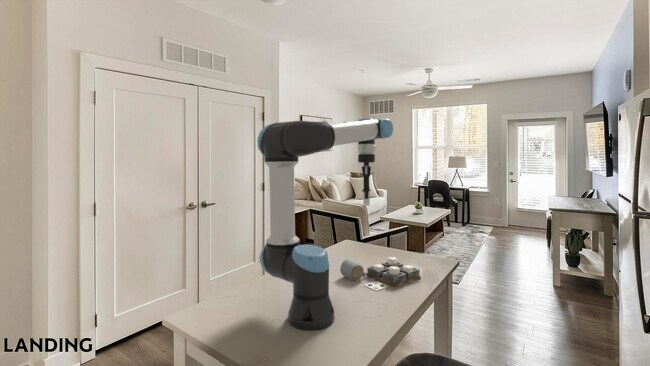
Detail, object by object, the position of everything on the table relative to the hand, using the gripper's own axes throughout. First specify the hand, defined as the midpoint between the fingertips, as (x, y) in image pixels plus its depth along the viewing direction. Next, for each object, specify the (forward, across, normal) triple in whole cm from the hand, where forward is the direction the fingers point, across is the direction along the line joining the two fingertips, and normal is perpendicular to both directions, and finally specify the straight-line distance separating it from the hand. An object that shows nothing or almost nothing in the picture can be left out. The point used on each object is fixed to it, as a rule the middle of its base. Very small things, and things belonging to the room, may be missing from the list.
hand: (366, 205), depth 152 cm
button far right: (+29, -7, -18) cm, 35 cm away
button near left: (+29, -7, -5) cm, 30 cm away
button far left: (+28, -1, -12) cm, 30 cm away
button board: (+30, -7, -12) cm, 33 cm away
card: (+30, -18, -4) cm, 36 cm away
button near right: (+28, -14, -12) cm, 33 cm away
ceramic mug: (+31, -10, +5) cm, 33 cm away
